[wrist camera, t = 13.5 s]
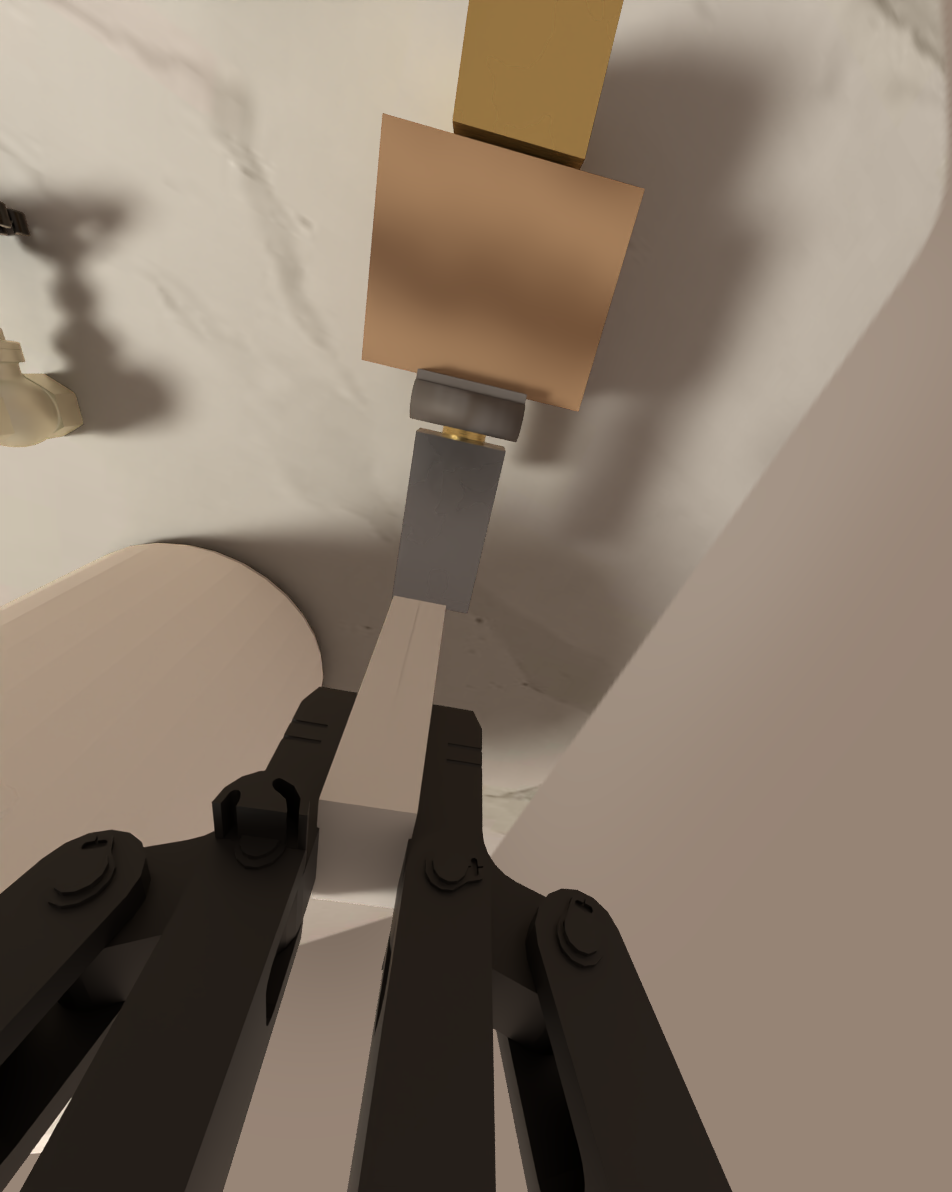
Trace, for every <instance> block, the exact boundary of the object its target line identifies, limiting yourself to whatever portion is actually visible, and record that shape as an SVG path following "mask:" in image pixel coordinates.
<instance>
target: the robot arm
mask: <svg viewBox="0 0 952 1192" xmlns="http://www.w3.org/2000/svg"><path fill="white" fill-rule="evenodd" d="M445 610H446V605H441V604H435V603H430V602H425V601H420V600H414V599H409V598H404V597H399V596H394V597H393V600H392V602H391V605H390V608H389V610H388V613H387V616H386V619H385V621H384V624H383V627H382V629H381V632H380V635H379V638H378V640H377V643H376V646H375V648H374V651H373V654H372V657H371V659H370V662H369V665H368V667H367V670H366V673H365V676H364V678H363V681H362V684H361V686H360V689H359V692H358V693H354V692H348V691H342V690H336V689H330V688H325V687H318V688H317V689H316V690H315V691H313V692H312V693H311V694H310V695H308V696H307V697H306V698H305V699H303V700H302V701H301V703H300V705H299V707H298V709H297V711H296V713H295V715H294V716H293V718H292V722H291V723H290V724H289V726H288V728H287V730H286V732H285V734H284V737H283V739H281V741H280V743H279V745H278V747H277V749H276V751H275V753H274V754H273V756H272V758H271V760H270V762H269V764H268V766H267V768H266V770H265V771H258V772H255V773H252V774H248V775H245V776H242V777H240V778H239V779H237V780H235V781H234V782H232V783H231V784H229V785H227V786H226V787H224V789H223V790H222V791H221V792H220V793H219V794H218V795H217V797H216V798H215V799H214V800H213V801H212V811H213V821H214V831H213V832H211V833H209V834H206V835H204V836H201V837H197V838H193V839H189V840H184V841H178V842H172V843H166V844H160V845H154V846H148V847H143V844H142V842H141V841H140V840H139V839H137V838H136V837H135V836H134V835H132V834H131V833H129V832H123V831H118V830H105V831H99V832H92V833H88V834H86V835H83V836H81V837H78V838H76V839H73V840H71V841H69V842H66V843H64V844H63V845H61V846H60V847H58V848H57V849H55V850H54V851H52V852H51V853H49V854H48V855H46V856H45V857H44V858H42V859H41V860H40V861H38V862H37V863H36V864H35V865H34V866H33V867H31V868H30V869H29V870H28V871H27V872H25V873H24V874H23V875H22V876H21V877H20V878H18V879H17V880H16V881H15V882H14V883H12V884H11V885H10V886H9V887H8V888H7V889H5V890H4V891H3V892H2V893H1V894H0V1192H2V1191H3V1190H4V1188H5V1187H6V1186H7V1184H8V1183H9V1181H10V1180H11V1179H12V1178H13V1176H14V1175H15V1173H16V1172H17V1171H18V1169H19V1168H20V1166H21V1165H22V1164H23V1163H24V1161H25V1160H26V1159H27V1157H28V1156H29V1155H30V1153H31V1152H32V1150H33V1149H34V1148H35V1146H36V1145H37V1144H38V1142H39V1141H40V1140H41V1138H42V1137H43V1136H44V1134H45V1133H46V1132H47V1130H48V1129H49V1128H50V1126H51V1125H52V1123H53V1122H54V1121H55V1119H56V1118H57V1117H58V1115H59V1114H60V1113H61V1111H62V1110H63V1109H64V1107H65V1106H66V1105H67V1103H68V1102H69V1100H70V1099H71V1100H70V1102H69V1104H68V1105H67V1107H66V1109H65V1111H64V1113H63V1114H62V1116H61V1118H60V1120H59V1122H58V1123H57V1125H56V1127H55V1129H54V1131H53V1132H52V1134H51V1136H50V1138H49V1140H48V1141H47V1143H46V1145H45V1147H44V1149H43V1151H42V1152H41V1154H40V1156H39V1158H38V1160H37V1162H36V1163H35V1165H34V1167H33V1169H32V1171H31V1172H30V1174H29V1176H28V1178H27V1180H26V1181H25V1183H24V1185H23V1187H22V1188H21V1190H20V1192H223V1189H224V1185H225V1182H226V1179H227V1176H228V1173H229V1170H230V1166H231V1163H232V1160H233V1157H234V1153H235V1150H236V1147H237V1144H238V1140H239V1137H240V1134H241V1130H242V1127H243V1124H244V1121H245V1117H246V1114H247V1111H248V1108H249V1105H250V1102H251V1098H252V1095H253V1092H254V1088H255V1085H256V1082H257V1079H258V1075H259V1072H260V1069H261V1066H262V1063H263V1059H264V1056H265V1053H266V1050H267V1046H268V1043H269V1040H270V1036H271V1033H272V1030H273V1027H274V1024H275V1020H276V1017H277V1014H278V1010H279V1007H280V1004H281V1001H282V998H283V995H284V991H285V988H286V985H287V981H288V978H289V975H290V972H291V969H292V965H293V962H294V959H295V956H296V952H297V949H298V946H299V943H300V939H301V933H302V925H303V917H304V914H305V911H306V908H307V904H308V901H309V898H310V895H311V892H312V899H319V900H327V901H336V902H344V903H352V904H360V905H368V906H376V907H384V908H392V909H394V912H393V918H392V925H391V931H390V936H389V940H388V944H387V948H386V953H385V957H384V961H383V965H382V970H383V973H382V979H381V986H380V992H379V999H378V1004H377V1010H376V1017H375V1023H374V1029H373V1035H372V1042H371V1047H370V1054H369V1060H368V1066H367V1072H366V1078H365V1084H364V1091H363V1097H362V1103H361V1109H360V1115H359V1122H358V1128H357V1134H356V1140H355V1146H354V1153H353V1159H352V1165H351V1171H350V1178H349V1184H348V1190H347V1192H496V1183H495V1181H496V1180H495V1124H494V1067H493V1029H495V1030H496V1032H497V1036H498V1042H499V1047H500V1052H501V1057H502V1062H503V1067H504V1072H505V1077H506V1082H507V1087H508V1093H509V1097H510V1103H511V1108H512V1113H513V1118H514V1123H515V1128H516V1133H517V1138H518V1143H519V1149H520V1154H521V1159H522V1164H523V1169H524V1174H525V1179H526V1184H527V1189H528V1192H732V1190H731V1188H730V1186H729V1184H728V1181H727V1179H726V1177H725V1174H724V1172H723V1169H722V1167H721V1165H720V1163H719V1160H718V1158H717V1156H716V1153H715V1151H714V1149H713V1147H712V1144H711V1142H710V1140H709V1137H708V1135H707V1133H706V1130H705V1128H704V1126H703V1123H702V1121H701V1119H700V1117H699V1114H698V1112H697V1110H696V1107H695V1105H694V1103H693V1100H692V1098H691V1096H690V1094H689V1091H688V1089H687V1087H686V1084H685V1082H684V1080H683V1078H682V1075H681V1073H680V1071H679V1068H678V1066H677V1064H676V1061H675V1059H674V1057H673V1054H672V1052H671V1050H670V1048H669V1045H668V1043H667V1041H666V1038H665V1036H664V1034H663V1032H662V1029H661V1027H660V1025H659V1022H658V1020H657V1018H656V1015H655V1013H654V1011H653V1009H652V1006H651V1004H650V1002H649V999H648V997H647V995H646V993H645V990H644V988H643V986H642V983H641V981H640V979H639V976H638V974H637V972H636V969H635V967H634V965H633V962H632V960H631V958H630V955H629V953H628V951H627V949H626V946H625V944H624V942H623V939H622V937H621V935H620V933H619V930H618V928H617V927H616V925H615V924H614V922H613V920H612V918H611V917H610V915H609V913H608V912H607V911H606V910H605V909H604V908H603V907H602V906H601V905H600V904H599V903H598V902H597V901H596V900H595V899H594V898H592V897H590V896H588V895H586V894H584V893H582V892H580V891H578V890H572V889H560V890H557V891H555V892H552V893H550V894H548V896H547V897H545V896H543V895H541V894H538V893H537V892H535V891H533V890H531V889H529V888H527V887H525V886H523V885H521V884H519V883H517V882H515V881H514V880H512V879H511V878H509V877H508V876H506V875H505V874H504V873H503V872H502V871H501V870H500V869H499V868H498V867H497V866H496V865H495V864H494V862H493V861H492V859H491V857H490V856H489V854H488V852H487V849H486V847H485V844H484V840H483V832H482V769H481V767H482V752H481V750H482V728H481V726H480V724H479V722H478V720H477V718H476V716H475V714H474V712H473V711H469V710H463V709H457V708H451V707H445V706H439V705H433V696H434V689H435V682H436V675H437V668H438V660H439V653H440V646H441V639H442V632H443V624H444V617H445Z"/></svg>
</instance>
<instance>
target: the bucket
mask: <svg viewBox="0 0 952 1192" xmlns="http://www.w3.org/2000/svg"><path fill="white" fill-rule="evenodd" d="M322 680H323V671H322V661H321V652H320V649H319V646H318V643H317V640H316V637H315V634H314V632H313V631H312V629H311V627H310V625H309V624H308V622H307V620H306V618H305V617H304V615H303V613H302V612H301V611H300V610H299V609H298V608H297V606H296V605H295V604H294V603H293V602H292V600H291V599H290V598H289V597H288V596H287V595H286V594H285V593H284V592H283V591H282V590H281V589H279V588H278V587H277V586H276V585H275V584H274V583H272V582H271V581H270V580H269V579H268V578H267V577H265V576H263V575H262V574H260V573H258V572H257V571H255V570H254V569H252V568H250V567H249V566H247V565H246V564H244V563H242V562H240V561H237V560H235V559H233V558H230V557H228V556H226V555H223V554H221V553H219V552H216V551H212V550H208V549H204V548H200V547H196V546H192V545H182V544H169V543H152V544H143V545H134V546H129V547H126V548H124V549H121V550H118V551H115V552H112V553H109V554H107V555H105V556H103V557H101V558H99V559H97V560H95V561H93V562H91V563H89V564H87V565H84V566H82V567H80V568H78V569H76V570H74V571H72V572H70V573H68V574H66V575H64V576H62V577H60V578H58V579H56V580H54V581H52V582H50V583H48V584H46V585H44V586H42V587H40V588H38V589H36V590H34V591H32V592H29V593H27V594H25V595H23V596H21V597H19V598H17V599H15V600H13V601H11V602H9V603H7V604H5V605H3V606H1V607H0V894H1V893H2V892H3V891H4V890H5V889H7V888H8V887H9V886H10V885H11V884H12V883H14V882H15V881H16V880H17V879H18V878H20V877H21V876H22V875H23V874H24V873H25V872H27V871H28V870H29V869H30V868H31V867H33V866H34V865H35V864H36V863H37V862H38V861H40V860H41V859H42V858H44V857H45V856H46V855H48V854H49V853H51V852H52V851H54V850H55V849H57V848H58V847H60V846H61V845H63V844H64V843H66V842H69V841H71V840H73V839H76V838H78V837H81V836H83V835H86V834H88V833H92V832H99V831H105V830H118V831H123V832H129V833H131V834H132V835H134V836H135V837H136V838H137V839H139V840H140V841H141V842H142V844H143V847H148V846H154V845H160V844H166V843H172V842H178V841H184V840H189V839H193V838H197V837H201V836H204V835H206V834H209V833H211V832H213V831H214V821H213V811H212V801H213V800H214V799H215V798H216V797H217V795H218V794H219V793H220V792H221V791H222V790H223V789H224V787H226V786H227V785H229V784H231V783H232V782H234V781H235V780H237V779H239V778H240V777H242V776H245V775H248V774H252V773H255V772H258V771H265V770H266V768H267V766H268V764H269V762H270V760H271V758H272V756H273V754H274V753H275V751H276V749H277V747H278V745H279V743H280V741H281V739H283V737H284V734H285V732H286V730H287V728H288V726H289V724H290V723H291V722H292V718H293V716H294V715H295V713H296V711H297V709H298V707H299V705H300V703H301V701H302V700H303V699H305V698H306V697H307V696H308V695H310V694H311V693H312V692H313V691H315V690H316V689H317V688H318V687H322ZM70 1100H71V1099H70ZM70 1100H69V1102H70ZM69 1102H68V1103H67V1105H68V1104H69ZM67 1105H66V1106H65V1107H64V1109H63V1110H62V1111H61V1113H60V1114H59V1115H58V1117H57V1118H56V1119H55V1121H54V1122H53V1123H52V1125H51V1126H50V1128H49V1129H48V1130H47V1132H46V1133H45V1134H44V1136H43V1137H42V1138H41V1140H40V1141H39V1142H38V1144H37V1145H36V1146H35V1148H34V1149H33V1150H32V1152H31V1153H30V1154H32V1153H41V1152H42V1151H43V1149H44V1147H45V1145H46V1143H47V1141H48V1140H49V1138H50V1136H51V1134H52V1132H53V1131H54V1129H55V1127H56V1125H57V1123H58V1122H59V1120H60V1118H61V1116H62V1114H63V1113H64V1111H65V1109H66V1107H67Z"/></svg>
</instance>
